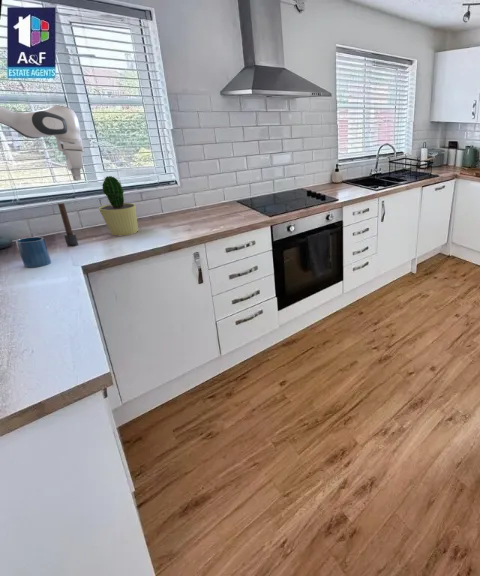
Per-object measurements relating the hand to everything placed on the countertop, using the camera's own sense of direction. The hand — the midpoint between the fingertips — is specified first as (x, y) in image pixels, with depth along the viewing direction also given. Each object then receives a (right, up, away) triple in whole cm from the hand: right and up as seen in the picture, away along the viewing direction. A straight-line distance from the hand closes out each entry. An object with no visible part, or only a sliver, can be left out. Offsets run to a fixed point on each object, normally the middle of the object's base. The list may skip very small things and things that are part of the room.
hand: (77, 180), depth 164 cm
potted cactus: (+3, -21, +26) cm, 34 cm away
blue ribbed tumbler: (-1, -39, -18) cm, 43 cm away
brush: (-6, -30, +5) cm, 30 cm away
